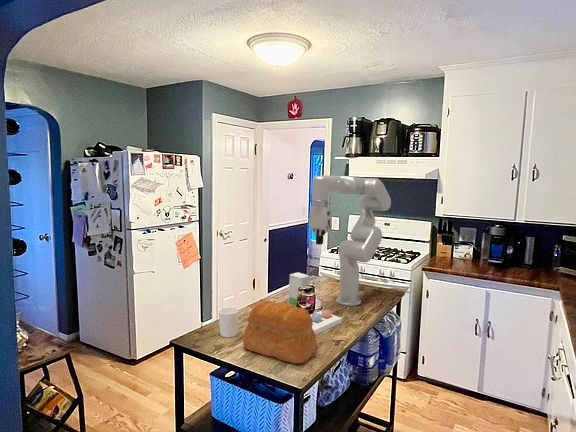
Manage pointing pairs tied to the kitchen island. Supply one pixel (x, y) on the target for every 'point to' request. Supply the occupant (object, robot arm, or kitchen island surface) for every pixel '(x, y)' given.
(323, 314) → the rust button
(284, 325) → the bread
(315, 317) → the slate button
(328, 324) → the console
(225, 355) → the kitchen island surface
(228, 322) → the white cup
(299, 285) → the skincare box
